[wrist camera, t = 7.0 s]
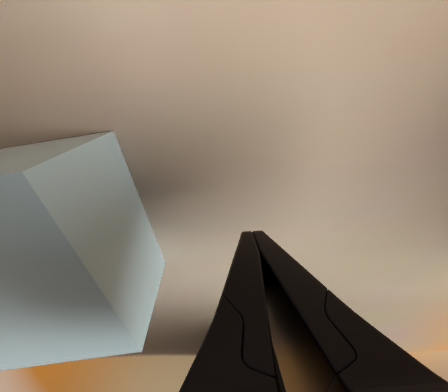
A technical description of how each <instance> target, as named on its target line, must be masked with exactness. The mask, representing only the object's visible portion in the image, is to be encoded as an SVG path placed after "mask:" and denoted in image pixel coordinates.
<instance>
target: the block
mask: <svg viewBox="0 0 448 392" xmlns="http://www.w3.org/2000/svg"><path fill="white" fill-rule="evenodd" d="M164 267H165V260H164V258H163V255H162V253H161V250H160V248H159V245H158V242H157V240H156V237H155V235H154V232H153V230H152V227H151V225H150V222H149V220H148V217H147V215H146V212H145V209H144V207H143V204H142V202H141V199H140V197H139V194H138V192H137V189H136V187H135V184H134V182H133V179H132V177H131V174H130V171H129V169H128V166H127V164H126V161H125V159H124V156H123V154H122V151H121V149H120V146H119V144H118V141H117V138H116V136H115V133H114V131H109V132H103V133H96V134H90V135H84V136H78V137H71V138H65V139H59V140H52V141H46V142H40V143H33V144H27V145H21V146H15V147H8V148H2V149H0V371H2V370H9V369H17V368H24V367H32V366H39V365H46V364H54V363H61V362H69V361H76V360H84V359H91V358H99V357H106V356H114V355H121V354H129V353H136V352H142V350H143V346H144V342H145V338H146V334H147V331H148V327H149V323H150V319H151V316H152V312H153V308H154V304H155V300H156V297H157V293H158V289H159V285H160V282H161V278H162V274H163V270H164Z"/></svg>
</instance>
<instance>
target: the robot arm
mask: <svg viewBox="0 0 448 392" xmlns="http://www.w3.org/2000/svg"><path fill="white" fill-rule="evenodd" d="M179 392H448V382H447V381H446V380H444V379H442V378H441V377H440V376H438V375H436V374H435V373H434V372H432V371H431V370H430V369H428V368H427V367H426V366H424V365H423V364H421V363H420V362H419V361H418V360H416V359H415V358H414V357H412V356H411V355H410V354H408V353H407V352H406V351H405V350H403V349H402V348H401V347H399V346H398V345H397V344H395V343H394V342H393V341H391V340H390V339H389V338H387V337H386V336H385V335H383V334H382V333H381V332H380V331H378V330H377V329H376V328H374V327H373V326H372V325H370V324H369V323H368V322H367V321H365V320H364V319H363V318H362V317H360V316H359V315H358V314H357V313H355V312H354V311H353V310H352V309H351V308H349V307H348V306H347V305H346V304H345V303H343V302H342V301H341V300H340V299H339V298H338V297H336V296H335V295H334V294H333V293H332V292H331V291H330V290H327V288H326V287H325V286H324V285H323V284H322V283H321V282H319V281H318V280H317V279H316V278H315V277H314V276H313V275H312V274H310V273H309V272H308V271H307V270H306V269H305V268H304V267H303V266H301V265H300V264H299V263H298V262H297V261H296V260H295V259H294V258H292V257H291V256H290V255H289V254H288V253H287V252H286V251H285V250H283V249H282V248H281V247H280V246H279V245H278V244H277V243H276V242H274V241H273V240H272V239H271V238H270V237H269V236H268V235H267V234H265V233H264V232H263V231H253V232H251V231H245V232H242V233H241V236H240V240H239V243H238V246H237V249H236V252H235V255H234V258H233V261H232V264H231V267H230V270H229V273H228V277H227V280H226V283H225V286H224V289H223V292H222V296H221V298H220V301H219V304H218V307H217V310H216V312H215V315H214V318H213V321H212V323H211V325H210V327H209V330H208V332H207V334H206V337H205V339H204V341H203V343H202V345H201V347H200V349H199V351H198V353H197V356H196V358H195V360H194V362H193V364H192V366H191V368H190V370H189V372H188V374H187V376H186V378H185V381H184V383H183V385H182V387H181V389H180V391H179Z"/></svg>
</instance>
